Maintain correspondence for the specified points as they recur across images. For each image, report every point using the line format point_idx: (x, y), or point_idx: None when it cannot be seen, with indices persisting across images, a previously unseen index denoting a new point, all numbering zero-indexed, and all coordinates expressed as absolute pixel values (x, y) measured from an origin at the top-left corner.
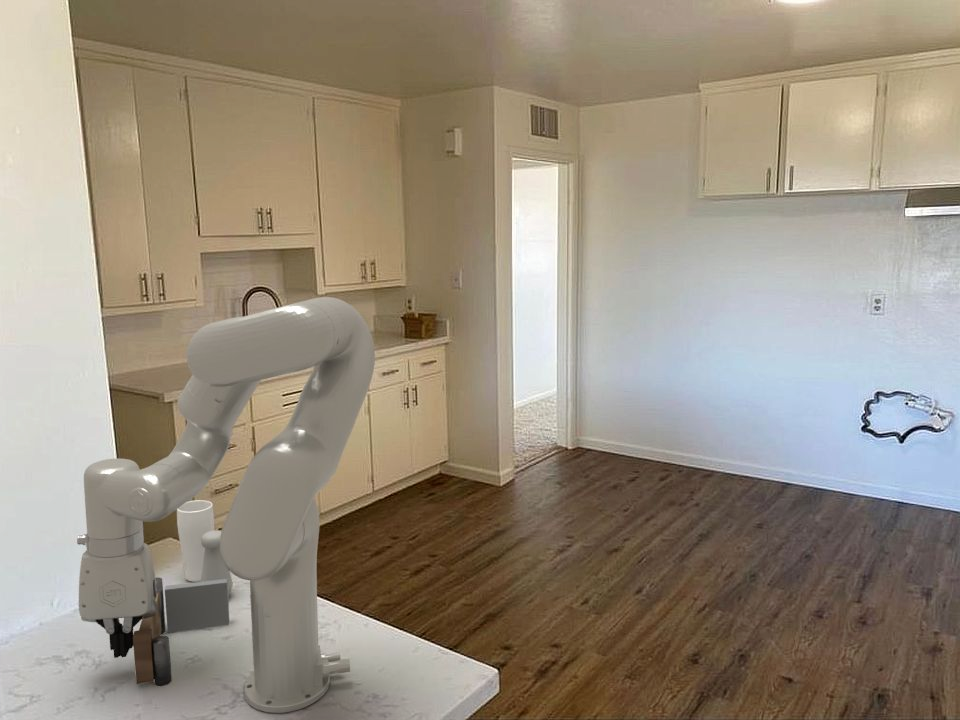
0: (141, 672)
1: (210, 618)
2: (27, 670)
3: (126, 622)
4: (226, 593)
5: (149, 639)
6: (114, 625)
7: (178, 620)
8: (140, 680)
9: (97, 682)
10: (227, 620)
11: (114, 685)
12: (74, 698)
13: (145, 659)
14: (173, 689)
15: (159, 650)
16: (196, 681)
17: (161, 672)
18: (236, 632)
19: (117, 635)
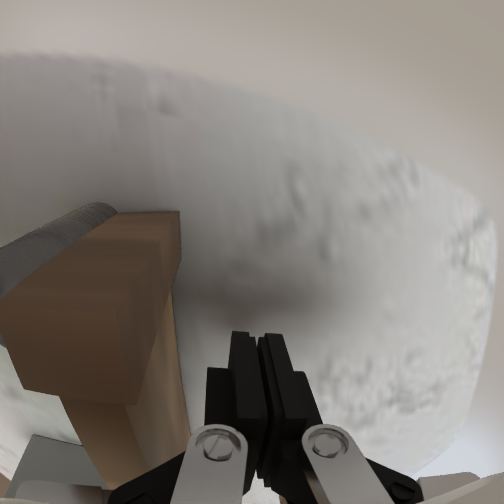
0: (146, 222)
1: (59, 459)
2: (459, 366)
3: (218, 488)
4: (7, 494)
5: (20, 288)
6: (305, 474)
7: None
8: (160, 215)
9: (323, 288)
10: (31, 442)
11: (266, 255)
12: (381, 215)
13: (106, 240)
14: (60, 175)
15: (15, 241)
16: (9, 207)
17: (72, 214)
18: (4, 402)
19: (278, 415)
